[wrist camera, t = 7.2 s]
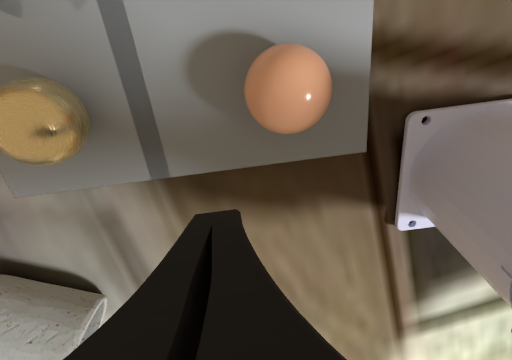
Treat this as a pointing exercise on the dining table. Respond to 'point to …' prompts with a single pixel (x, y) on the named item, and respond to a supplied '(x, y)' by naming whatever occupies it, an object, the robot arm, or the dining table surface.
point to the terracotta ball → (288, 88)
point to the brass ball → (41, 121)
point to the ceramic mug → (45, 319)
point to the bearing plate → (180, 83)
